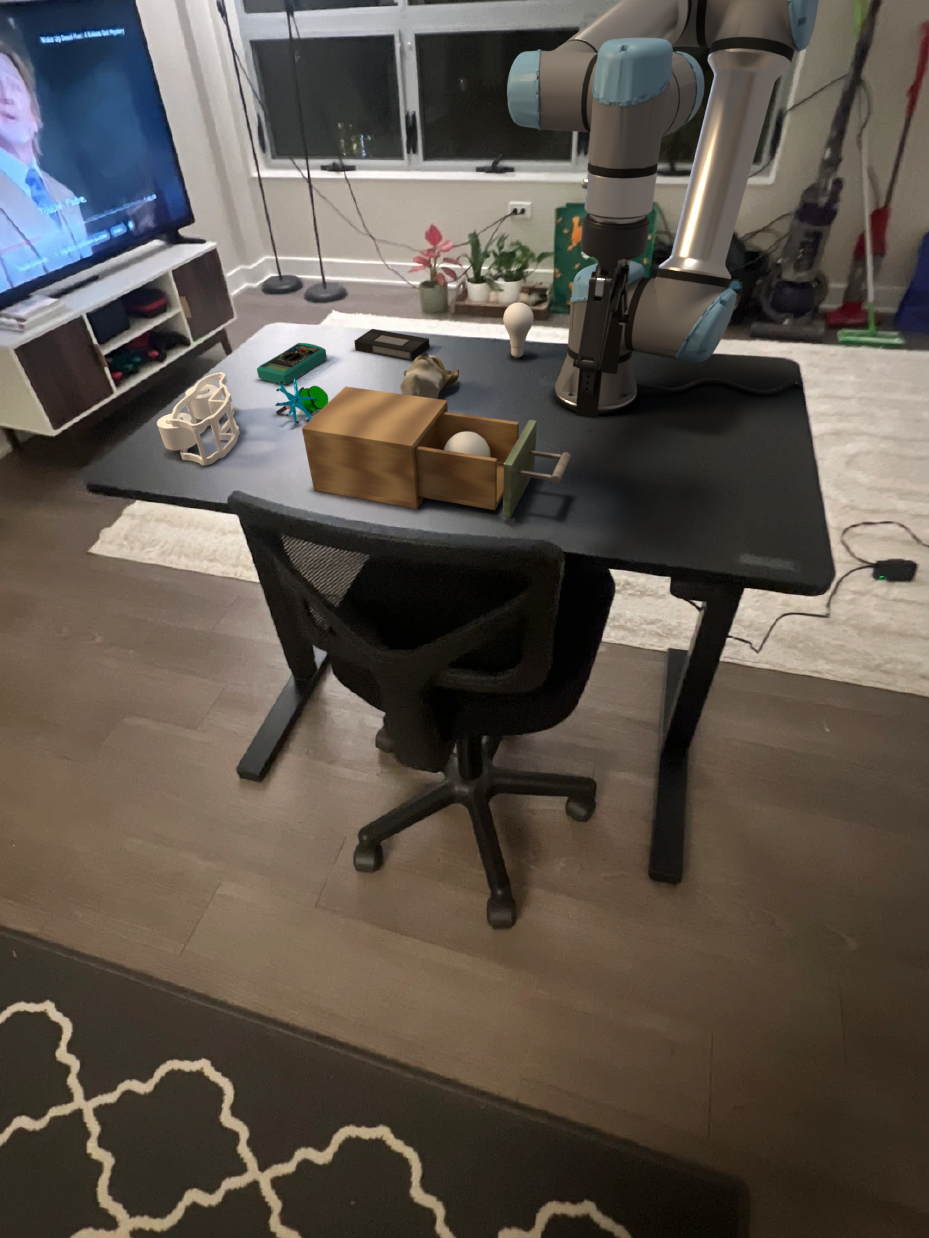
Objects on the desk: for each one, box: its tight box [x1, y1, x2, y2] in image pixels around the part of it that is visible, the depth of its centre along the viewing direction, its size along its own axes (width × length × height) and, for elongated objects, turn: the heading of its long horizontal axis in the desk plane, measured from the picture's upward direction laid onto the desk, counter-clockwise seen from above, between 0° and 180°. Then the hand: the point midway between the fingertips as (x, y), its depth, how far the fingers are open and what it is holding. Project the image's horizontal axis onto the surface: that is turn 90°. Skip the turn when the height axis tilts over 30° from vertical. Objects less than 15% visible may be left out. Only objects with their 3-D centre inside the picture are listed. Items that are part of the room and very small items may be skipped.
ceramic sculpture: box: [399, 351, 460, 399], centre depth 134 cm, size 11×9×15 cm
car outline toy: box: [156, 372, 241, 467], centre depth 125 cm, size 20×11×7 cm, turn 171°
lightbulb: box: [502, 301, 534, 359], centre depth 145 cm, size 6×6×11 cm
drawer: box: [414, 411, 572, 519], centre depth 108 cm, size 23×14×9 cm, turn 71°
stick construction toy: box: [274, 378, 329, 425], centre depth 132 cm, size 12×7×8 cm
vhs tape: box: [353, 328, 430, 362], centre depth 153 cm, size 8×14×2 cm, turn 64°
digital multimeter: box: [256, 342, 328, 386], centre depth 146 cm, size 7×15×3 cm, turn 153°
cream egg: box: [444, 432, 501, 463], centre depth 108 cm, size 10×7×7 cm
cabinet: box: [301, 385, 449, 510], centre depth 112 cm, size 18×15×11 cm
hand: (597, 393), depth 95 cm, fingers open, 13 cm apart
